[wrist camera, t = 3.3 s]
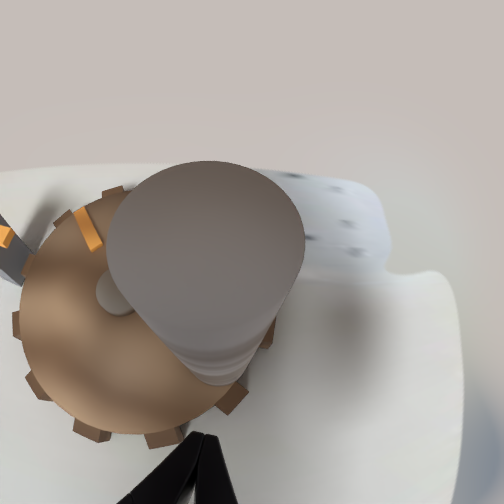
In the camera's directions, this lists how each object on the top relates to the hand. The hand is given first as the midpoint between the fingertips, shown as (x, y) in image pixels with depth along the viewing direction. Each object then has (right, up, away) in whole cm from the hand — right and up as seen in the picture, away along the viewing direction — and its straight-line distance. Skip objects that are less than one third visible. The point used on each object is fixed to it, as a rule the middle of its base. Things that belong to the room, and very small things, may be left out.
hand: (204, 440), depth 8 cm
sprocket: (-7, +3, +10) cm, 12 cm away
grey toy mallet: (-17, +4, +10) cm, 20 cm away
